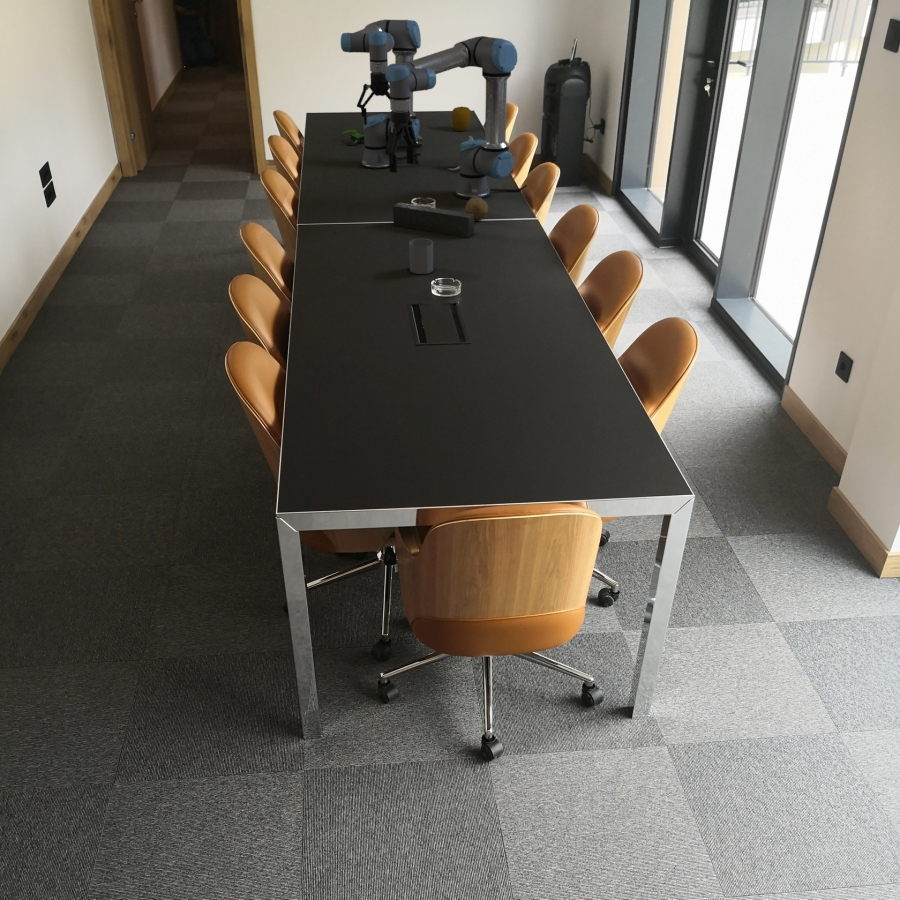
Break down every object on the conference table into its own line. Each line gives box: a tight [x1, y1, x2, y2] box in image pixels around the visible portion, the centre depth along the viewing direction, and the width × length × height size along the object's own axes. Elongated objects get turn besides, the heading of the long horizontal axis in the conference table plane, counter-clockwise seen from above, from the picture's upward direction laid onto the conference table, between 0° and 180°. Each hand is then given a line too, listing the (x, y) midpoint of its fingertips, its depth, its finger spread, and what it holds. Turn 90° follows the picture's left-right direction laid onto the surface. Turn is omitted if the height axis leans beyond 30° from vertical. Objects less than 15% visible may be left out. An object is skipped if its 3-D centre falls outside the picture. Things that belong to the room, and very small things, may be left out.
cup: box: [408, 237, 434, 275], centre depth 305 cm, size 8×8×10 cm
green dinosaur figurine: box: [340, 129, 364, 146], centre depth 465 cm, size 6×13×30 cm
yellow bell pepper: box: [451, 105, 472, 132], centre depth 487 cm, size 11×11×13 cm
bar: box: [392, 202, 475, 239], centre depth 343 cm, size 34×5×8 cm, turn 63°
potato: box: [464, 197, 489, 221], centre depth 355 cm, size 10×14×8 cm
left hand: (381, 124), depth 376 cm, fingers open, 13 cm apart
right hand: (401, 167), depth 338 cm, fingers open, 13 cm apart
